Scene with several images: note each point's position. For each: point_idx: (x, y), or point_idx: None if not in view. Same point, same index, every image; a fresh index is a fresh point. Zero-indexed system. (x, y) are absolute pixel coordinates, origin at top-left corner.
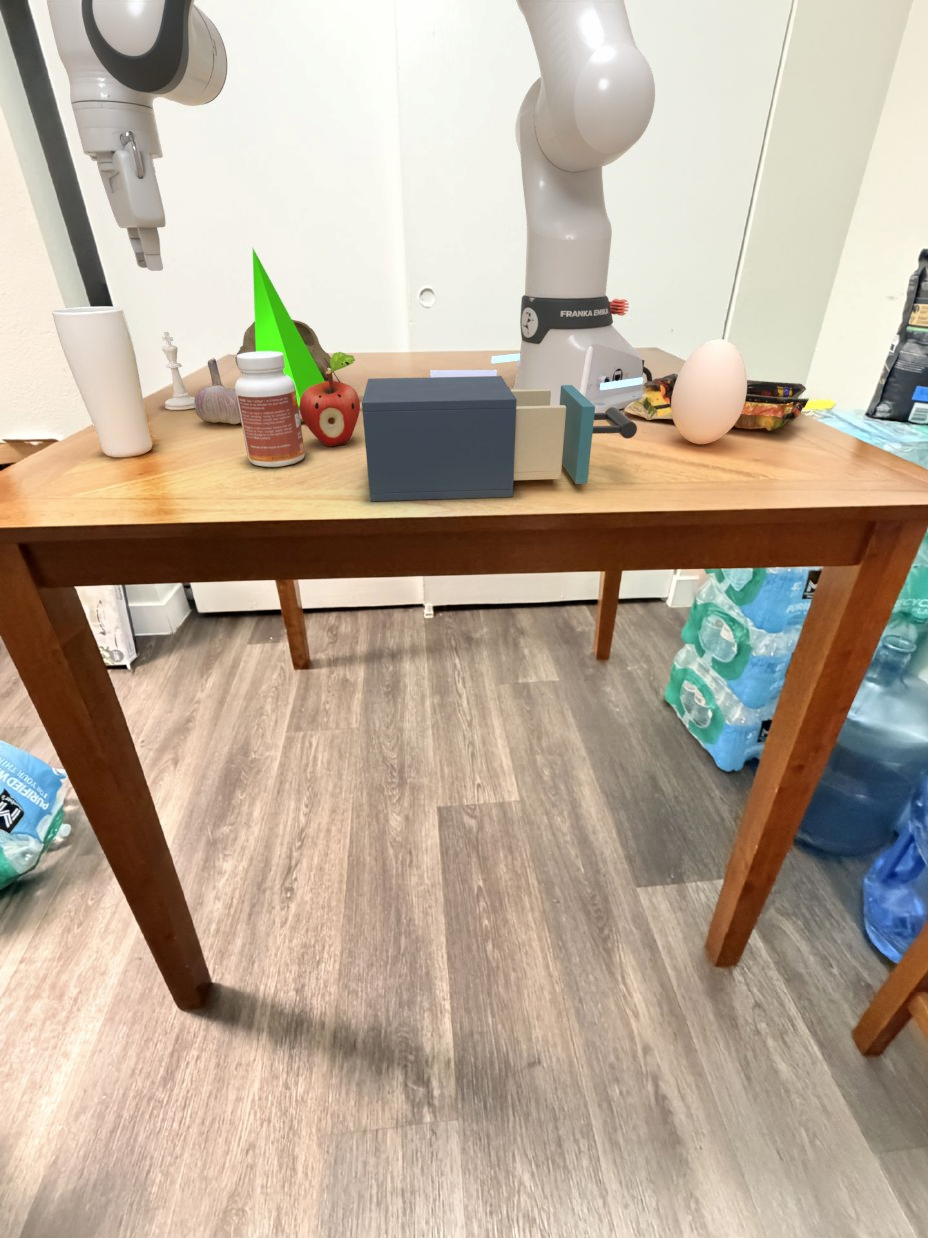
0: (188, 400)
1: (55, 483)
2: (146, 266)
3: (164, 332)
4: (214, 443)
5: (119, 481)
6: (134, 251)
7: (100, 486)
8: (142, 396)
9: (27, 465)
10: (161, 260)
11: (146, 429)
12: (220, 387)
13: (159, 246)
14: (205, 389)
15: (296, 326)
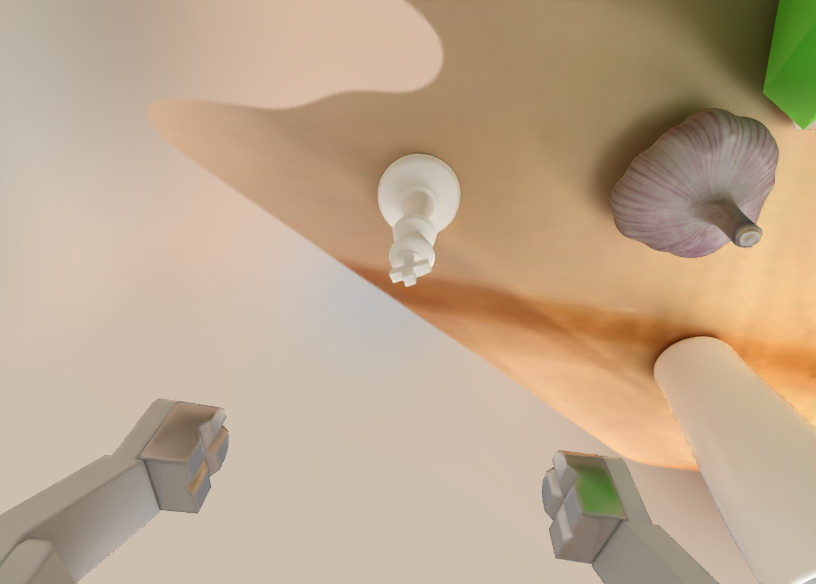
0: (447, 194)
1: None
2: (544, 501)
3: (410, 285)
4: (783, 248)
5: (813, 399)
6: (151, 515)
7: (806, 416)
8: (775, 395)
9: (624, 450)
10: (637, 492)
11: (746, 363)
12: (744, 211)
13: (707, 572)
14: (717, 244)
15: None
